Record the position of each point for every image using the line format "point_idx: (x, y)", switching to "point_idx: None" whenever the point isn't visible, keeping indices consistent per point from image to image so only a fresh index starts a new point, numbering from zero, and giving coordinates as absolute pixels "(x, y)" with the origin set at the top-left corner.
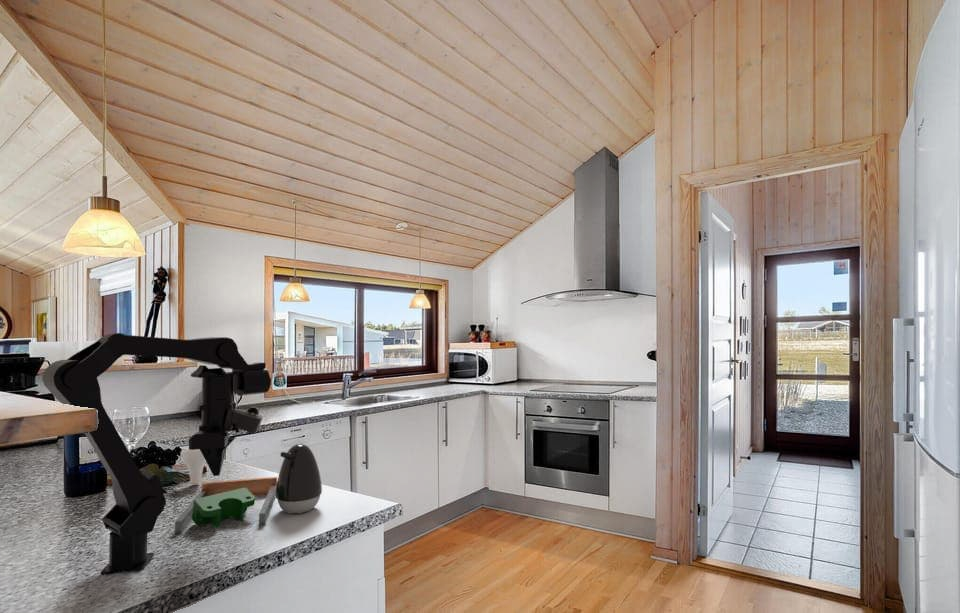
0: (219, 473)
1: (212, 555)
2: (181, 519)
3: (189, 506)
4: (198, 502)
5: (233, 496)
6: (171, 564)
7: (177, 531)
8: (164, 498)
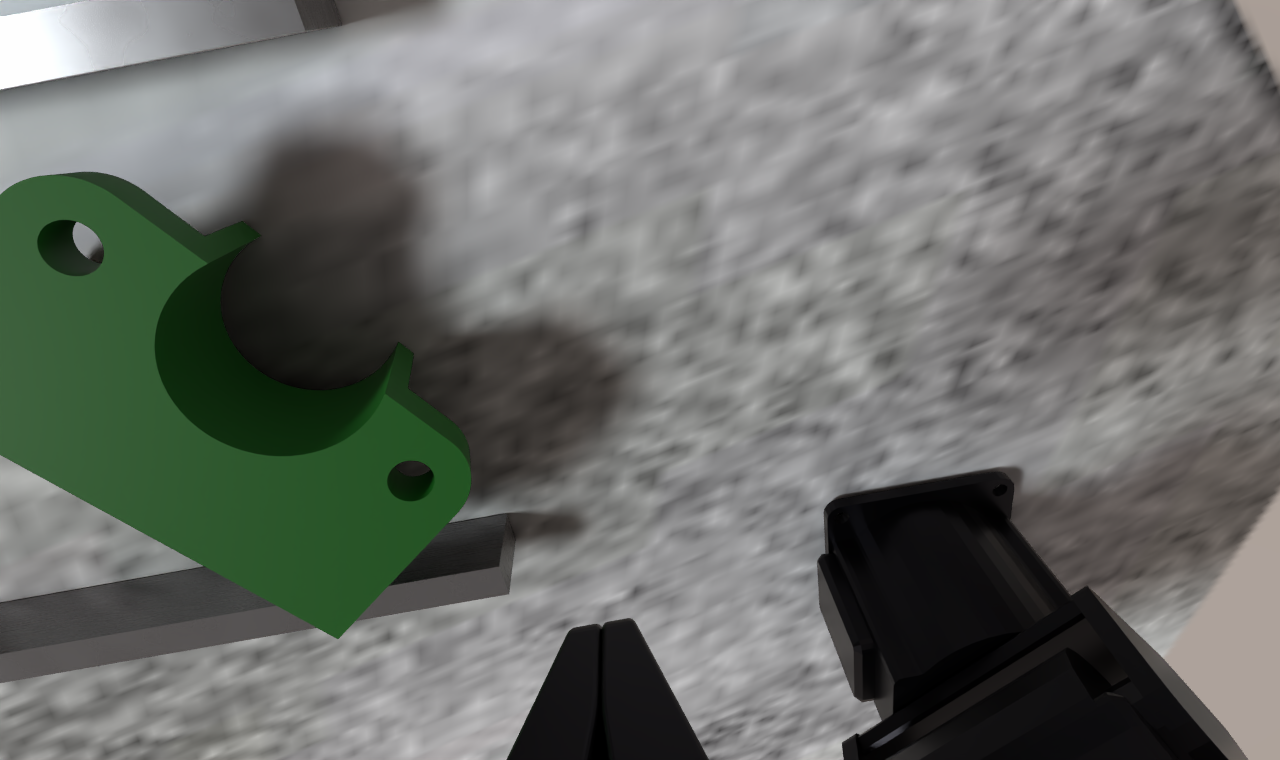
0: (638, 633)
1: (907, 187)
2: (465, 579)
3: (206, 639)
4: (371, 588)
5: (125, 395)
6: (967, 370)
7: (511, 539)
8: (1164, 750)
